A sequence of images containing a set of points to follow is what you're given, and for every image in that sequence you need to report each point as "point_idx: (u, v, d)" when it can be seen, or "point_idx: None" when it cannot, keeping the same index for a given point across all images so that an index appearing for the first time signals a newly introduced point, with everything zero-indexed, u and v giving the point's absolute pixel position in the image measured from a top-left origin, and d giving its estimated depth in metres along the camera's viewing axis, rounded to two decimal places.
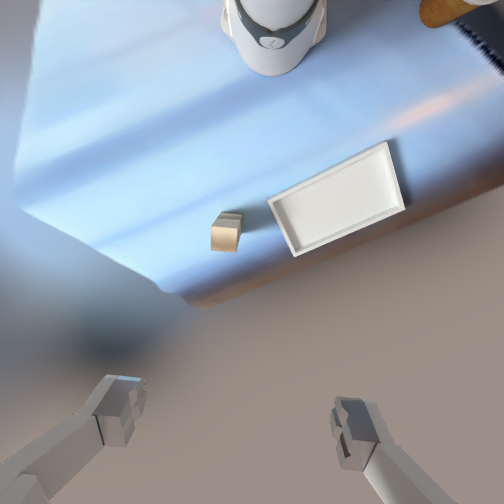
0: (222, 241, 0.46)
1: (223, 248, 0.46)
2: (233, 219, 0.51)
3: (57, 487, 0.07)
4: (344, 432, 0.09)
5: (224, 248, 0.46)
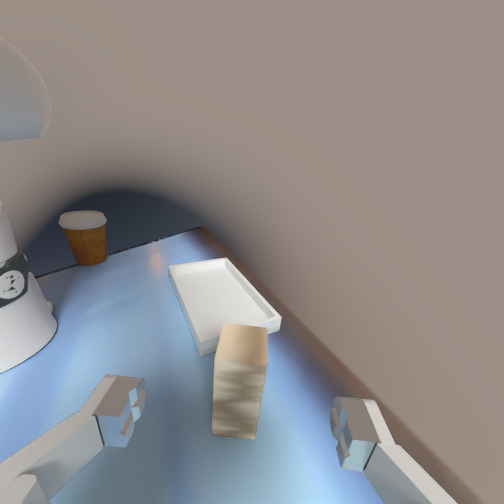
0: (247, 344, 0.24)
1: (261, 343, 0.24)
2: None
3: (57, 487, 0.07)
4: (344, 432, 0.09)
5: (260, 341, 0.24)
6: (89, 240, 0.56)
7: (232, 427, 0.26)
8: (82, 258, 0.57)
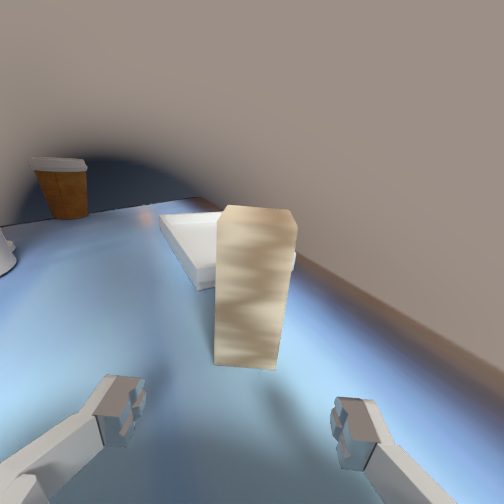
0: (264, 216, 0.16)
1: (283, 216, 0.17)
2: None
3: (57, 487, 0.07)
4: (345, 432, 0.09)
5: (282, 215, 0.17)
6: (66, 186, 0.48)
7: (243, 349, 0.18)
8: (59, 209, 0.49)
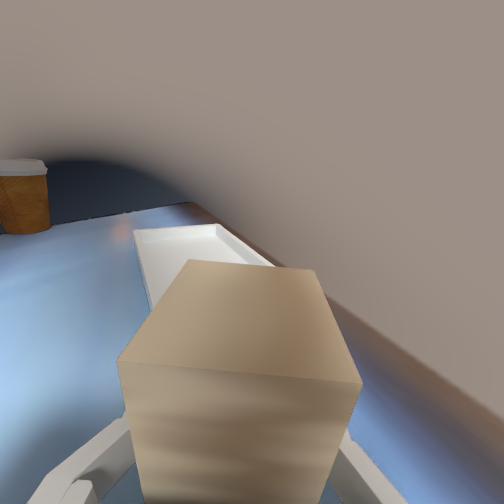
0: (261, 308, 0.07)
1: (308, 306, 0.07)
2: None
3: (104, 492, 0.07)
4: None
5: (303, 300, 0.07)
6: (17, 194, 0.38)
7: None
8: (10, 222, 0.40)
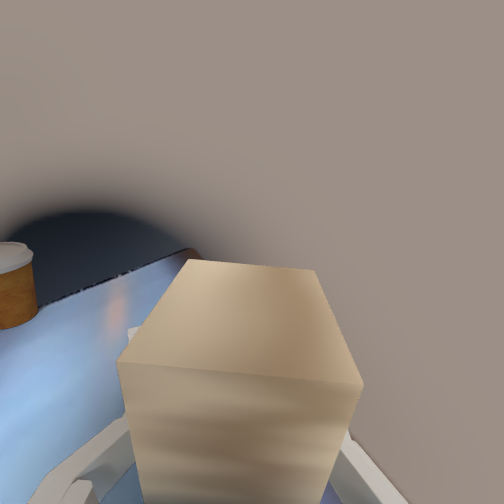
0: (261, 309, 0.07)
1: (308, 306, 0.07)
2: None
3: (104, 492, 0.07)
4: None
5: (303, 300, 0.07)
6: None
7: None
8: None
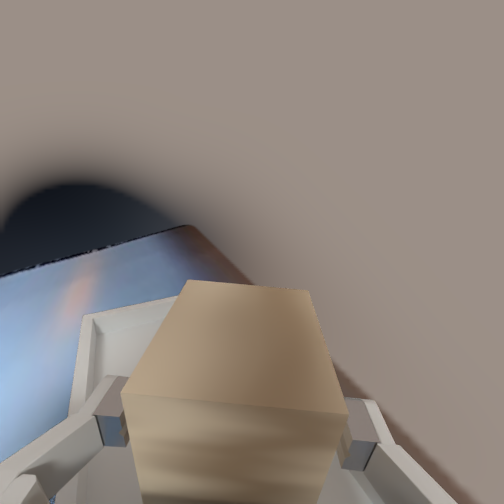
0: (256, 334, 0.07)
1: (301, 331, 0.07)
2: None
3: (57, 487, 0.07)
4: (344, 432, 0.09)
5: (297, 324, 0.08)
6: None
7: None
8: None
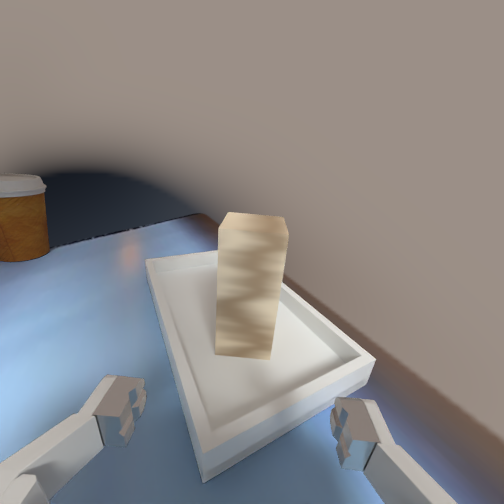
0: (260, 223, 0.18)
1: (277, 224, 0.19)
2: None
3: (57, 487, 0.07)
4: (344, 432, 0.09)
5: (276, 223, 0.19)
6: (10, 217, 0.33)
7: (241, 341, 0.20)
8: (2, 249, 0.34)
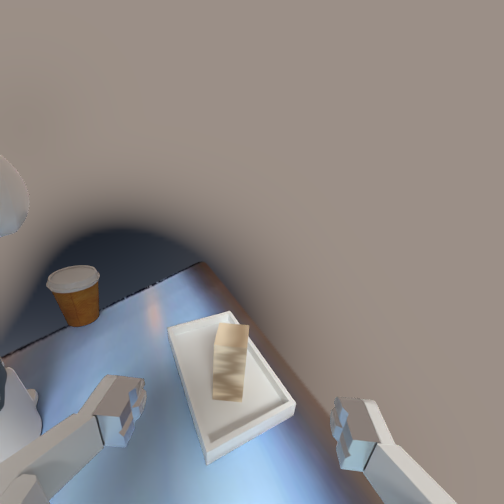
0: (234, 336, 0.37)
1: (244, 335, 0.37)
2: None
3: (57, 487, 0.07)
4: (344, 432, 0.09)
5: (243, 334, 0.37)
6: (80, 301, 0.51)
7: (226, 393, 0.39)
8: (73, 319, 0.52)
